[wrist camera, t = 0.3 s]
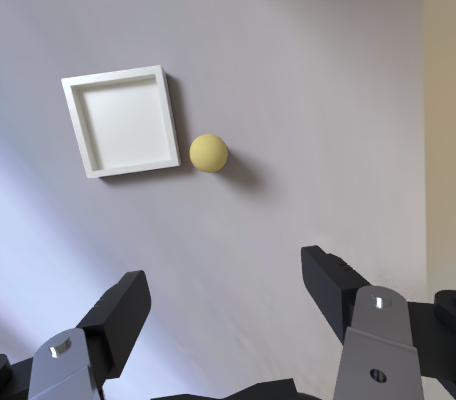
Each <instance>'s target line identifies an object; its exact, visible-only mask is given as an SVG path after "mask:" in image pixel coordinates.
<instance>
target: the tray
mask: <svg viewBox="0 0 456 400" xmlns="http://www.w3.org/2000/svg"><path fill="white" fill-rule="evenodd" d="M61 81H62V84H63V88H64V92H65V96H66V99H67V103H68V107H69V111H70V115H71V118H72V122H73V126H74V130H75V134H76V137H77V141H78V145H79V149H80V152H81V156H82V160H83V164H84V168H85V171H86V175H87V179H88V178H95V177H102V176H109V175H116V174H123V173H131V172H138V171H145V170H152V169H159V168H166V167H173V166H180V165H182V163H181V158H180V152H179V146H178V141H177V135H176V129H175V124H174V118H173V113H172V107H171V101H170V96H169V90H168V84H167V79H166V73H165V71H164V69H163V68H162V66H161V65H157V66H150V67H143V68H136V69H129V70H121V71H114V72H107V73H100V74H93V75H86V76H79V77H72V78H64V79H61Z"/></svg>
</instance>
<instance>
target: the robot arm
mask: <svg viewBox="0 0 456 400" xmlns="http://www.w3.org/2000/svg"><path fill="white" fill-rule="evenodd" d="M301 261H302V274H303V280H304V284H305V286H306V288H307V290H308V292H309V293H310V295H311V296H312V298H313V299H314V301H315V303H316V304H317V306H318V307H319V309H320V310H321V312H322V314H323V315H324V317H325V318H326V320H327V321H328V323H329V325H330V326H331V328H332V329H333V331H334V332H335V334H336V335H337V337H338V339H339V340H340V342H341V343H342V345H343V350H342V355H341V360H340V365H339V371H338V376H337V381H336V386H335V391H334V396H333V400H424V394H423V387H422V380H421V376H425V377H431V378H436V379H437V380H438V381H439V382H440V383H441V384H442V385H443V386H444V388H445V389H446V390H447V391H448V392H449V393H450V394H451V395H452V397H454V399H455V400H456V290H442V291H439V292H437V293H436V294H435V299H434V304H430V303H417V302H407V301H406V299H405V298H404V297H403V296H402V295H400V294H399V293H397V292H395V291H394V290H391V289H389V288H386V287H382V286H374V285H371V284H370V283H369V282H368V281H367V280H365V279H364V278H363V277H362V276H361V275H360V274H359V273H357V272H356V271H355V270H353V268H352V267H350V266H349V265H347V263H346V262H345V261H343V260H342V259H341V258H340V257H337V256H335V255H333V254H331V253H329V254H326V253H325V252H324V251H323V250H322V249H321V248H320V247H319V246H317V245H315V246H308V247H302V248H301ZM150 309H151V296H150V292H149V288H148V284H147V280H146V275H145V273H144V271H143V270H140V271H133V272H127V273H126V274H125V275H124V276H123V277H122V278H121V280H120V281H119V282H118V283H117V284H115V285H114V286H113V287H111V288H110V289H108V290H107V291H106V292H105V293H104V294H103V295H102V297H101V298H100V300H99V301H97V303H96V304H95V305H94V307H92V308H91V310H90V311H89V312H88V313H87V314H86V316H85V317H84V318H83V319H82V320H81V321H80V323H79V324H78V325H77V326H76V327H75V328H73V329H69V330H66V331H63V332H61V333H59V334H57V335H55V336H54V337H52V338H51V339H49V340H48V341H47V342H45V343H44V344H43V345H42V346H41V347H40V348H39V349H38V350H37V352H36V353H35V355H34V357H32V358H29V359H26V360H24V361H21V362H18V363H15V364H13V365H10V362H9V360H8V358H7V356H6V355H5V354H0V400H106V398H105V394H104V390H103V387H102V386H103V384H104V382H105V380H107V379H114V378H119V377H120V375H121V373H122V371H123V369H124V366H125V364H126V362H127V360H128V358H129V355H130V353H131V351H132V349H133V347H134V345H135V342H136V340H137V338H138V336H139V334H140V331H141V329H142V327H143V325H144V323H145V321H146V318H147V316H148V314H149V312H150ZM151 400H322V399H319V398H317V397H314V396H312V395H308V394H305V393H299V392H297V390H296V387H295V384H294V381H293V378H290V379H284V380H277V381H270V382H263V383H257V384H255V385H253V386H251V387H248V388H246V389H244V390H242V391H239V392H237V393H235V394H233V395H231V396H228V397H226V398H223V399H216V398H210V397H203V396H197V395H190V394H181V395H174V396H167V397H160V398H153V399H151Z"/></svg>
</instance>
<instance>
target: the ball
mask: <svg viewBox="0 0 456 400" xmlns="http://www.w3.org/2000/svg"><path fill="white" fill-rule="evenodd" d="M227 157H228V151H227V147H226V145H225V143H224V141H223V140H222V139H221V138H219V137H218V136H216V135H213V134H204V135H201V136H199V137H198V138H196V139H195V140H194V141H193V143H192V145H191V148H190V158H191V161H192V163H193V165H194V166H195V167H196V168H197V169H199V170H200V171H203V172H207V173H212V172H216V171H218V170H219V169H221V168H222V167H223V166H224V164H225V163H226V161H227Z"/></svg>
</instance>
